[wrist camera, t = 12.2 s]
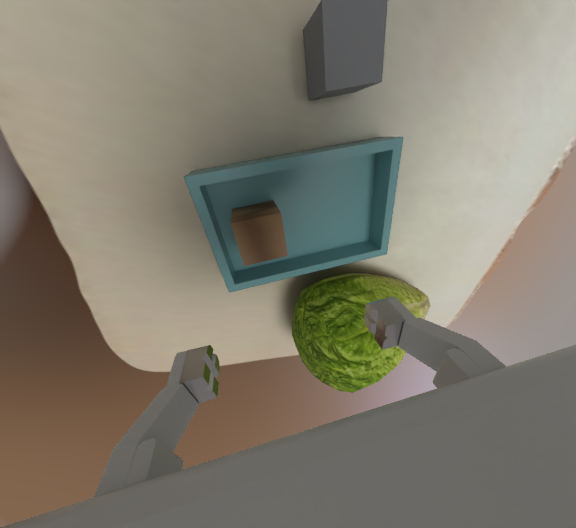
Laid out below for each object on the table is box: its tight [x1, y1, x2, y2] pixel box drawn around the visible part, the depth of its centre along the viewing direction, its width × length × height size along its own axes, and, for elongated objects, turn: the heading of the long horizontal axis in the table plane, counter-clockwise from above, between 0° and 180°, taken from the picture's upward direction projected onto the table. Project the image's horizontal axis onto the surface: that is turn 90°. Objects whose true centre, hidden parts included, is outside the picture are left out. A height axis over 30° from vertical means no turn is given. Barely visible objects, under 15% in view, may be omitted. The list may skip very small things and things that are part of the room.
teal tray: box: [184, 137, 403, 292], centre depth 25 cm, size 22×14×4 cm, turn 99°
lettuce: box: [292, 273, 430, 392], centre depth 33 cm, size 15×24×16 cm
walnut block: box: [231, 200, 288, 266], centre depth 24 cm, size 5×5×5 cm
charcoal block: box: [303, 0, 387, 100], centre depth 18 cm, size 5×5×5 cm
